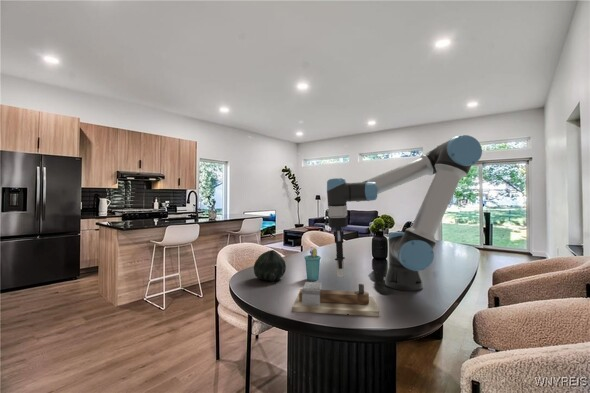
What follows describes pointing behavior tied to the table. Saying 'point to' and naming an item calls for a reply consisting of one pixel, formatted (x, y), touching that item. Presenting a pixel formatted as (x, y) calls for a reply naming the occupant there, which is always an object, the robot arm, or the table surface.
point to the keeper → (311, 294)
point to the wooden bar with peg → (343, 296)
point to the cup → (312, 265)
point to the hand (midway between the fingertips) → (340, 276)
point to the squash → (269, 266)
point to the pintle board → (339, 308)
